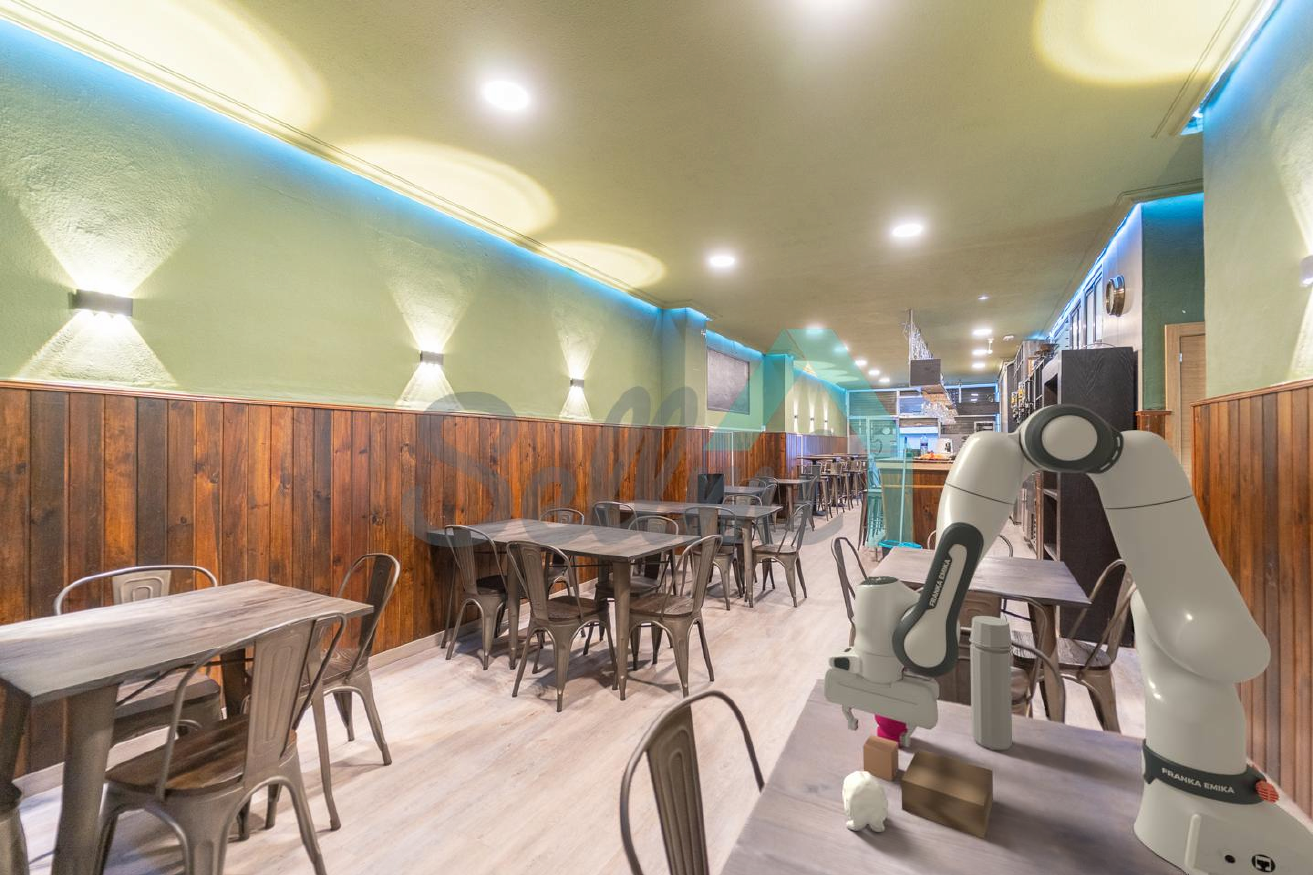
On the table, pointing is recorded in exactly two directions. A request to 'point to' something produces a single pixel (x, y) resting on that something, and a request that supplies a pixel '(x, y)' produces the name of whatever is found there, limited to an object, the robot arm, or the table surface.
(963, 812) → the walnut stand
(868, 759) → the terracotta cube
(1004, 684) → the water bottle
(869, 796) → the penguin figurine
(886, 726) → the pepper mill
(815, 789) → the table surface
